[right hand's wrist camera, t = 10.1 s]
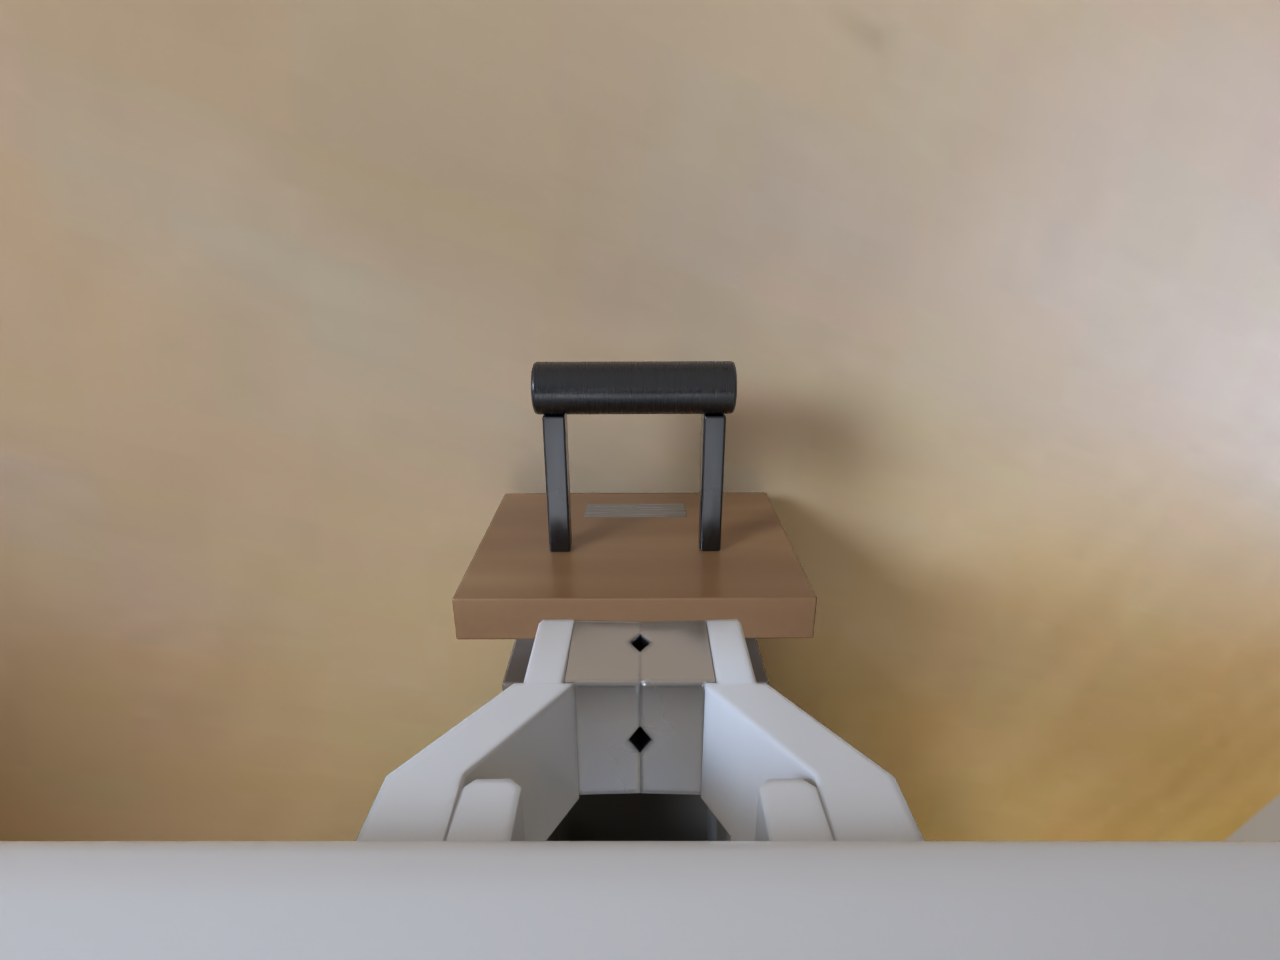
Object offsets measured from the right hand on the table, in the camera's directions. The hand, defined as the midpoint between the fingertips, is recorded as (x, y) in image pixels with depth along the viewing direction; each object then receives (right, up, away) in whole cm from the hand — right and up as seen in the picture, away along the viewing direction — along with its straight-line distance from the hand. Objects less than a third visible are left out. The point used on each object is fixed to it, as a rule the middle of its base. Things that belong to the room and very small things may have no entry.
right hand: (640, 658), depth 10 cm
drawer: (0, -3, +16) cm, 16 cm away
